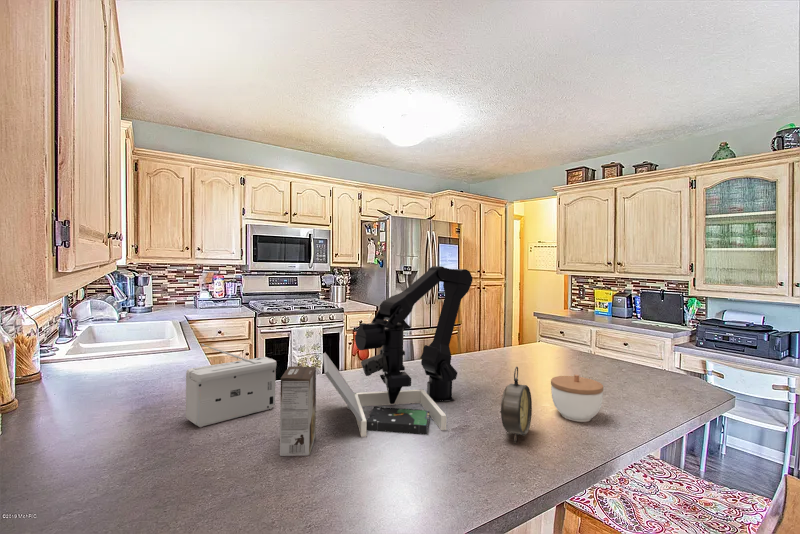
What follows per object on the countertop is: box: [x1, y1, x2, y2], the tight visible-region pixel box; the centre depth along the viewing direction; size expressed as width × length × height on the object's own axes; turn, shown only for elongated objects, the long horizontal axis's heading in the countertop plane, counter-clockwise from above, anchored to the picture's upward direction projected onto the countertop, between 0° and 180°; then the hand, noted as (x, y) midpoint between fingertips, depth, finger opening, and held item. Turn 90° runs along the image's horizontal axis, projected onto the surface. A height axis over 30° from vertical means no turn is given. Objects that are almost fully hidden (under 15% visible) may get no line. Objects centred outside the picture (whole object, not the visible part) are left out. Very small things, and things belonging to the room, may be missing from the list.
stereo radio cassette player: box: [185, 343, 278, 428], centre depth 101 cm, size 21×8×20 cm, turn 134°
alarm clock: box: [500, 365, 533, 445], centre depth 91 cm, size 11×5×16 cm, turn 148°
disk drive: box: [366, 406, 431, 436], centre depth 97 cm, size 10×3×15 cm
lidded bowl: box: [550, 374, 604, 423], centre depth 103 cm, size 13×13×11 cm
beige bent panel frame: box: [322, 352, 447, 438], centre depth 100 cm, size 29×20×15 cm
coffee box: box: [279, 365, 317, 457], centre depth 84 cm, size 9×6×16 cm
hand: (391, 403), depth 106 cm, fingers closed
